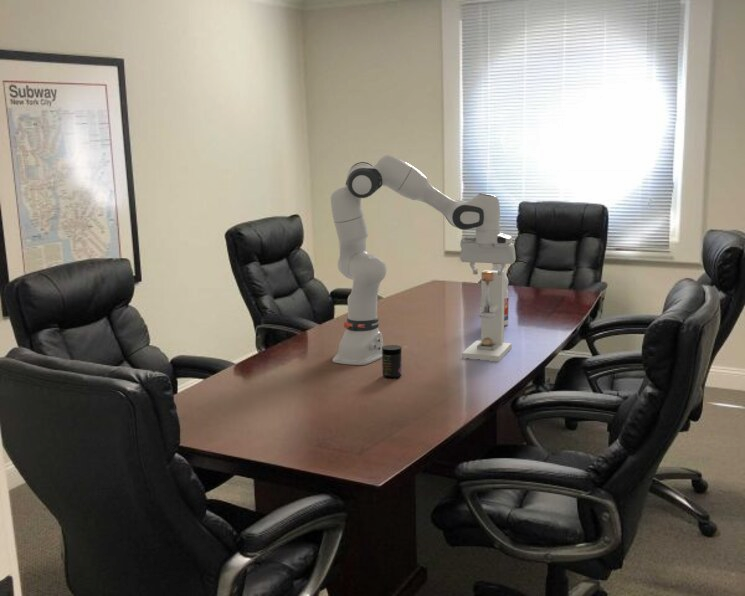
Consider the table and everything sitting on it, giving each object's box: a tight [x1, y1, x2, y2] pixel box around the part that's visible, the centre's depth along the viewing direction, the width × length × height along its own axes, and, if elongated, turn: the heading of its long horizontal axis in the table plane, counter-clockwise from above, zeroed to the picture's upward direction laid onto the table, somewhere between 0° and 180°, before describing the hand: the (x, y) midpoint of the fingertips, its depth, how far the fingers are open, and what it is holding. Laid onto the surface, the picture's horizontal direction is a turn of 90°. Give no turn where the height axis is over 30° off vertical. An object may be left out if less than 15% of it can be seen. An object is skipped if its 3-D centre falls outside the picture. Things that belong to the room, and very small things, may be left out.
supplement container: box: [381, 344, 403, 380], centre depth 274 cm, size 7×7×10 cm
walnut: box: [482, 338, 493, 347], centre depth 302 cm, size 4×4×4 cm
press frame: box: [461, 269, 513, 362], centre depth 300 cm, size 20×14×30 cm
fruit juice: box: [491, 263, 510, 327], centre depth 346 cm, size 9×9×28 cm
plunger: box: [478, 270, 496, 318], centre depth 298 cm, size 6×6×17 cm
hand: (487, 274), depth 297 cm, fingers open, 8 cm apart
